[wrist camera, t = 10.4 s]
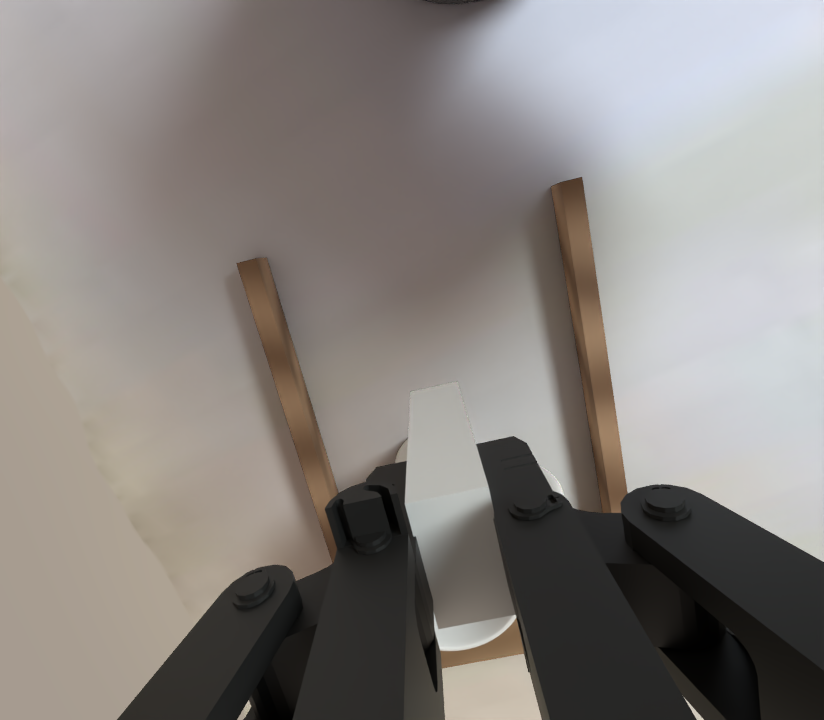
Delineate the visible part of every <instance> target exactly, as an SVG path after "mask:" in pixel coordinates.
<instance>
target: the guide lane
mask: <svg viewBox="0 0 824 720" xmlns="http://www.w3.org/2000/svg"><path fill="white" fill-rule="evenodd" d="M551 190H552V197H553V203H554V209H555V216H556V222H557V228H558V234H559V241H560V247H561V253H562V260H563V266H564V272H565V278H566V285H567V291H568V297H569V304H570V310H571V316H572V322H573V329H574V335H575V341H576V348H577V354H578V360H579V366H580V373H581V379H582V385H583V392H584V398H585V404H586V410H587V417H588V423H589V429H590V436H591V442H592V448H593V454H594V461H595V467H596V473H597V480H598V486H599V492H600V498H601V505H602V511H603V513H621V504H620V503H621V501H622V500H623V498H624V497H625V495H626V494H628V493H627V486H626V479H625V472H624V466H623V459H622V452H621V445H620V438H619V431H618V424H617V417H616V410H615V403H614V396H613V389H612V382H611V375H610V368H609V361H608V354H607V347H606V340H605V333H604V326H603V319H602V312H601V305H600V298H599V291H598V284H597V277H596V270H595V263H594V256H593V249H592V243H591V236H590V229H589V222H588V215H587V208H586V201H585V194H584V187H583V180H582V177H580V178H576V179H572V180H568V181H564V182H560V183H558V184H556V185H553V186H551ZM237 267H238V270H239V273H240V276H241V279H242V282H243V285H244V288H245V291H246V295H247V298H248V301H249V304H250V307H251V310H252V313H253V316H254V320H255V323H256V326H257V329H258V332H259V335H260V338H261V341H262V344H263V348H264V351H265V354H266V357H267V360H268V363H269V366H270V369H271V372H272V376H273V379H274V382H275V385H276V388H277V391H278V394H279V397H280V400H281V404H282V407H283V410H284V413H285V416H286V419H287V422H288V425H289V429H290V432H291V435H292V438H293V441H294V444H295V447H296V450H297V453H298V457H299V460H300V463H301V466H302V469H303V472H304V475H305V478H306V481H307V485H308V488H309V491H310V494H311V497H312V500H313V503H314V506H315V509H316V513H317V516H318V519H319V522H320V525H321V528H322V531H323V534H324V538H325V541H326V544H327V547H328V550H329V553H330V556H331V559H332V562H333V563H334V559H335V555H336V551H337V547H336V544H335V541H334V537H333V534H332V531H331V528H330V525H329V521H328V518H327V515H326V512H325V507H326V506H327V504H328V503H329V501H330V500H331V499H332V498H334V497H335V496H336V495H337V494H339V493H338V490H337V487H336V483H335V480H334V477H333V474H332V470H331V467H330V464H329V460H328V457H327V454H326V451H325V447H324V444H323V441H322V438H321V434H320V431H319V428H318V424H317V421H316V418H315V415H314V411H313V408H312V405H311V401H310V398H309V395H308V392H307V388H306V385H305V382H304V379H303V375H302V372H301V369H300V365H299V362H298V359H297V356H296V352H295V349H294V346H293V343H292V339H291V336H290V333H289V329H288V326H287V323H286V320H285V316H284V313H283V310H282V306H281V303H280V300H279V297H278V293H277V290H276V287H275V284H274V280H273V277H272V274H271V270H270V267H269V264H268V261H267V258H256V259H252V260H248V261H244V262H240V263H237Z"/></svg>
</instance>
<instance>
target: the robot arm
mask: <svg viewBox="0 0 824 720" xmlns="http://www.w3.org/2000/svg"><path fill="white" fill-rule="evenodd" d="M424 1H429V2H435V3H444V4H458V3H468V2H475V1H479V0H424ZM620 504H621V513H596V512H586V511H581V510H577V509H574V508H572V506H571V504H570V503H569V501H568V500H567V499H566V498H565V497H564V496H563V495H562V494H560V493H558V492H555V491H553V490H552V488H551V486H550V485H549V483H548V481H547V479H546V477H545V475H544V474H543V472H542V470H541V468H540V466H539V465H538V464H537V461H536V459H535V457H534V456H533V455H532V452H531V450H530V448H529V447H528V445H527V443H525V442H524V441H522V440H520V439H518V438H516V437H514V436H513V437H508V438H503V439H499V440H494V441H489V442H485V443H480V444H476V443H475V439H474V436H473V432H472V429H471V426H470V422H469V419H468V415H467V412H466V409H465V405H464V402H463V398H462V395H461V392H460V388H459V385H458V382H457V381H455V382H451V383H446V384H442V385H437V386H433V387H428V388H424V389H420V390H415V391H411V392H410V407H409V427H408V447H407V461H404V462H399V463H394V464H390V465H385V466H380V467H376V469H375V470H374V471H373V472H372V473H371V474H370V475H369V477H368V478H367V479H366V482H365V483H362V484H358V485H355V486H352V487H350V488H348V489H346V490H344V491H342V492H340V493H339V494H337V495H336V496H335V497H334V498H332V499H331V500H330V501H329V503H328V504H327V506H326V507H325V512H326V515H327V518H328V521H329V525H330V528H331V531H332V534H333V537H334V541H335V544H336V547H337V551H336V555H335V559H334V563H333V564H332V565H330V566H329V567H327V568H325V569H323V570H321V571H319V572H317V573H314V574H312V575H310V576H307V577H305V578H302V579H300V580H298V581H295V578H294V575H293V572H292V571H291V570H290V569H289V568H287V567H286V566H281V565H270V566H265V567H260V568H257V569H255V570H252V571H250V572H247V573H246V574H244V575H243V576H242V577H240V578H239V579H237V580H236V581H234V582H233V583H232V584H231V585H230V586H229V587H228V588H226V589H225V590H224V591H223V592H222V593H221V595H220V596H219V597H218V598H217V599H216V601H215V602H214V603H213V604H212V606H211V607H210V608H209V609H208V610H207V612H206V613H205V614H204V615H203V616H202V618H201V619H200V620H199V621H198V622H197V624H196V625H195V626H194V627H193V629H192V630H191V631H190V632H189V633H188V635H187V636H186V637H185V638H184V639H183V641H182V642H181V643H180V644H179V646H178V647H177V648H176V649H175V650H174V651H173V653H172V654H171V655H170V657H169V658H168V659H167V660H166V661H165V662H164V664H163V665H162V666H161V667H160V668H159V670H158V671H157V672H156V673H155V674H154V676H153V677H152V678H151V679H150V680H149V682H148V683H147V684H146V685H145V687H144V688H143V689H142V690H141V692H140V693H139V694H138V695H137V696H136V697H135V699H134V700H133V701H132V702H131V704H130V705H129V706H128V707H127V708H126V710H125V711H124V712H123V713H122V714H121V716H120V717H119V718H118V719H117V720H237V718H238V717H239V715H240V714H241V712H242V710H243V708H244V707H245V705H246V703H247V702H248V700H249V701H250V704H251V706H252V707H251V708H250V710H249V712H248V714H247V715H246V717H245V718H244V719H243V720H445V714H444V697H443V681H442V665H441V652H440V648H439V645H438V641H437V637H436V634H435V628H434V614H435V618H436V622H437V626H438V629H443V628H448V627H453V626H459V625H464V624H469V623H475V622H480V621H485V620H490V619H496V618H501V617H506V616H511V615H516V619H517V623H518V628H519V632H520V637H521V641H522V646H523V650H524V655H525V659H526V664H527V668H528V672H530V675H531V679H532V683H533V687H534V691H535V695H536V698H537V702H538V706H539V710H540V714H541V718H542V720H697V719H696V718H695V716H694V714H693V713H692V711H691V709H690V707H689V706H688V704H687V702H686V701H685V699H686V700H687V701H688V702H689V703H690V704H691V705H692V706H693V708H694V709H695V710H696V711H697V712H698V713H699V714H700V715H701V717H702V718H703V719H704V720H824V562H822V561H821V560H819V559H817V558H815V557H813V556H812V555H810V554H808V553H806V552H804V551H803V550H801V549H799V548H797V547H796V546H794V545H792V544H790V543H788V542H787V541H785V540H783V539H781V538H779V537H778V536H776V535H774V534H772V533H770V532H769V531H767V530H765V529H763V528H761V527H760V526H758V525H756V524H754V523H753V522H751V521H749V520H747V519H745V518H744V517H742V516H740V515H738V514H736V513H735V512H733V511H731V510H729V509H727V508H726V507H724V506H722V505H720V504H719V503H717V502H715V501H713V500H711V499H710V498H708V497H706V496H704V495H702V494H700V493H698V492H695V491H693V490H690V489H688V488H684V487H679V486H673V485H663V484H661V485H650V486H646V487H642V488H637V489H635V490H633V491H632V492H630V493H628V494H626V495H625V497H624V498H623V500H622V501H621V503H620ZM682 695H683V696H684V697H685V699H684V697H683V696H682Z"/></svg>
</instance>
